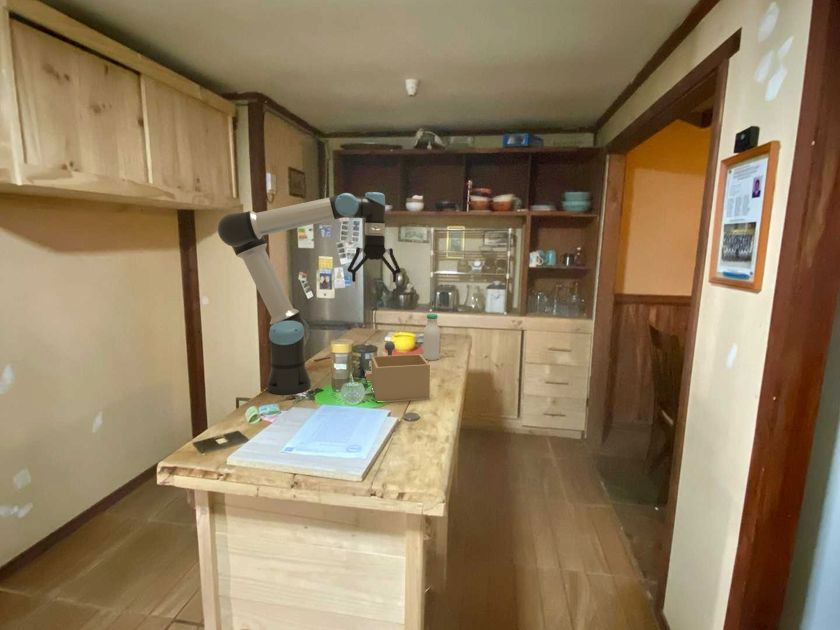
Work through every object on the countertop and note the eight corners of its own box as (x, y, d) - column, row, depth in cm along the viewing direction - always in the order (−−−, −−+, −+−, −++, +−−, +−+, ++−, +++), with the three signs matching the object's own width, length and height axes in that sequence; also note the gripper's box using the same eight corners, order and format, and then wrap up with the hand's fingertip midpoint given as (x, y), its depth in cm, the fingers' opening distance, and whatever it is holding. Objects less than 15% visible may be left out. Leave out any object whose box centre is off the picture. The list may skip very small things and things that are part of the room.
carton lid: (366, 382, 166) (366, 347, 164) (362, 370, 182) (362, 337, 179) (418, 379, 171) (419, 345, 168) (410, 367, 186) (410, 335, 184)
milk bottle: (438, 361, 196) (439, 316, 192) (421, 360, 197) (421, 315, 194) (441, 356, 203) (442, 313, 200) (424, 355, 205) (425, 312, 201)
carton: (376, 402, 147) (376, 367, 144) (371, 388, 160) (371, 356, 158) (429, 399, 150) (429, 364, 148) (420, 385, 164) (420, 353, 162)
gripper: (341, 233, 162) (341, 291, 165) (409, 236, 167) (407, 292, 171) (340, 233, 169) (340, 289, 173) (405, 235, 174) (404, 289, 178)
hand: (373, 290), depth 172 cm, fingers open, 13 cm apart
